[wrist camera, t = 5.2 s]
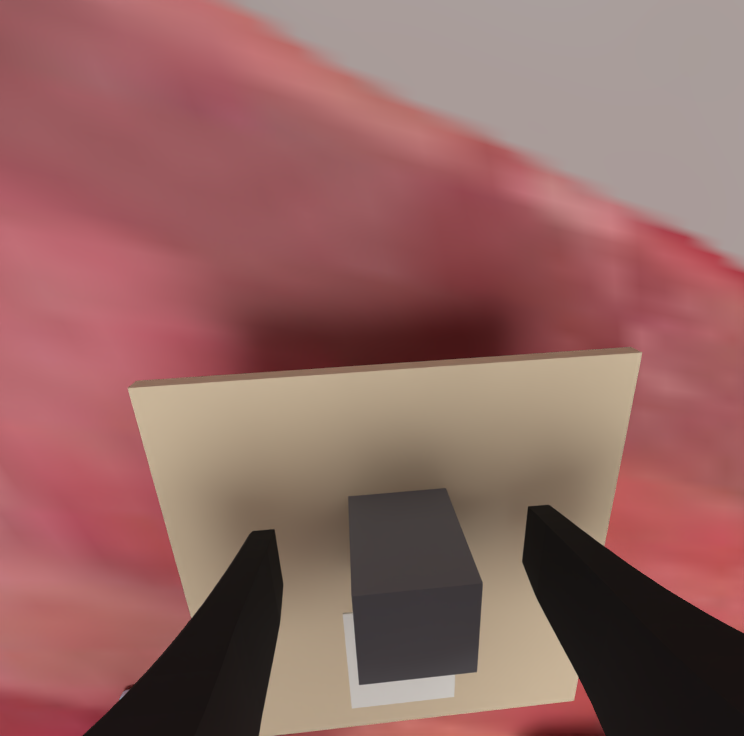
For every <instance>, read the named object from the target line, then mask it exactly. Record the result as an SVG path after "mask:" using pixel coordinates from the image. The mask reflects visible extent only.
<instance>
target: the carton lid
mask: <svg viewBox="0 0 744 736" xmlns="http://www.w3.org/2000/svg"><path fill="white" fill-rule="evenodd" d="M641 356H642V352H640V351H638V350H636V349H634V348H631V347H624V348H610V349H595V350H580V351H566V352H551V353H537V354H522V355H507V356H493V357H478V358H464V359H449V360H434V361H420V362H405V363H391V364H376V365H361V366H347V367H332V368H318V369H303V370H288V371H274V372H259V373H245V374H230V375H215V376H201V377H186V378H172V379H157V380H142V381H136V382H135V383H133V384H132V385H131V386H130V387H128V391H129V395H130V398H131V402H132V406H133V409H134V413H135V416H136V420H137V424H138V427H139V431H140V434H141V438H142V442H143V445H144V449H145V453H146V456H147V460H148V463H149V467H150V471H151V474H152V478H153V481H154V485H155V489H156V492H157V496H158V499H159V503H160V507H161V510H162V514H163V518H164V521H165V525H166V528H167V532H168V536H169V539H170V543H171V546H172V550H173V554H174V557H175V561H176V565H177V568H178V572H179V575H180V579H181V583H182V586H183V590H184V593H185V597H186V601H187V604H188V608H189V612H190V615H191V618H192V617H193V616H194V614H195V613H196V612H197V610H198V609H199V608H200V607H201V605H202V604H203V603H204V601H205V600H206V599H207V597H208V596H209V594H210V593H211V592H212V590H213V589H214V587H215V586H216V584H217V583H218V582H219V580H220V579H221V577H222V576H223V574H224V573H225V571H226V570H227V568H228V567H229V565H230V564H231V562H232V561H233V559H234V558H235V556H236V555H237V553H238V552H239V550H240V548H241V547H242V545H243V544H244V542H245V540H246V539H247V537H248V535H249V534H250V533H251V532H252V531H258V530H269V529H275V535H276V541H277V547H278V553H279V559H280V566H281V572H282V578H283V584H284V585H283V597H282V609H281V620H280V627H279V632H278V638H277V643H276V648H275V653H274V659H273V664H272V669H271V674H270V679H269V684H268V689H267V694H266V699H265V705H264V710H263V715H262V720H261V726H260V733H259V736H275V735H284V734H292V733H301V732H310V731H318V730H327V729H335V728H344V727H353V726H361V725H370V724H378V723H387V722H395V721H404V720H413V719H421V718H430V717H438V716H447V715H456V714H464V713H473V712H481V711H490V710H499V709H507V708H516V707H524V706H533V705H541V704H550V703H559V702H567V701H574V697H575V692H576V687H577V682H578V675H577V673H576V672H575V670H574V668H573V666H572V664H571V662H570V660H569V659H568V657H567V655H566V653H565V651H564V649H563V647H562V646H561V644H560V642H559V640H558V638H557V636H556V634H555V633H554V631H553V629H552V627H551V625H550V623H549V621H548V619H547V617H546V616H545V614H544V612H543V610H542V608H541V606H540V604H539V602H538V600H537V598H536V596H535V594H534V591H533V589H532V586H531V584H530V581H529V579H528V576H527V573H526V571H525V568H524V566H523V563H522V557H523V547H524V538H525V529H526V520H527V510H528V506H538V505H550V506H551V507H553V508H554V509H556V510H557V511H558V512H560V513H561V514H562V515H564V516H565V517H566V518H567V519H569V520H570V521H571V522H573V523H574V524H575V525H577V526H578V527H579V528H581V529H582V530H583V531H584V532H586V533H587V534H588V535H590V536H591V537H592V538H594V539H595V540H596V541H598V542H599V543H600V544H602V545H603V546H604V545H605V539H606V534H607V529H608V524H609V519H610V514H611V509H612V504H613V499H614V494H615V489H616V483H617V478H618V473H619V468H620V463H621V458H622V453H623V448H624V443H625V438H626V433H627V428H628V422H629V417H630V412H631V407H632V402H633V397H634V392H635V387H636V382H637V377H638V372H639V366H640V361H641Z"/></svg>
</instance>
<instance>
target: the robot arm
mask: <svg viewBox="0 0 744 736" xmlns="http://www.w3.org/2000/svg"><path fill="white" fill-rule="evenodd" d="M522 563H523V566H524V568H525V571H526V573H527V576H528V579H529V581H530V584H531V586H532V589H533V591H534V594H535V596H536V598H537V600H538V602H539V604H540V606H541V608H542V610H543V612H544V614H545V616H546V617H547V619H548V621H549V623H550V625H551V627H552V629H553V631H554V633H555V634H556V636H557V638H558V640H559V642H560V644H561V646H562V647H563V649H564V651H565V653H566V655H567V657H568V659H569V660H570V662H571V664H572V666H573V668H574V670H575V672H576V673H577V675H578V677H579V679H580V681H581V683H582V685H583V687H584V689H585V691H586V693H587V695H588V697H589V699H590V701H591V703H592V705H593V708H594V710H595V712H596V714H597V717H598V719H599V721H600V724H601V726H602V728H603V731H604V733H605V735H606V736H744V633H742V632H740V631H738V630H736V629H734V628H732V627H730V626H729V625H727V624H725V623H723V622H721V621H719V620H718V619H716V618H714V617H712V616H710V615H709V614H707V613H705V612H704V611H702V610H700V609H698V608H697V607H695V606H693V605H692V604H690V603H688V602H687V601H685V600H683V599H682V598H680V597H678V596H677V595H675V594H673V593H672V592H670V591H669V590H667V589H665V588H664V587H662V586H661V585H659V584H658V583H656V582H655V581H653V580H652V579H650V578H649V577H647V576H646V575H644V574H643V573H641V572H640V571H638V570H637V569H635V568H634V567H632V566H631V565H629V564H628V563H627V562H625V561H624V560H622V559H621V558H620V557H618V556H617V555H615V554H614V553H613V552H611V551H610V550H609V549H607V548H606V547H604V546H603V545H602V544H600V543H599V542H598V541H596V540H595V539H594V538H592V537H591V536H590V535H588V534H587V533H586V532H584V531H583V530H582V529H581V528H579V527H578V526H577V525H575V524H574V523H573V522H571V521H570V520H569V519H567V518H566V517H565V516H564V515H562V514H561V513H560V512H558V511H557V510H556V509H554V508H553V507H551V506H550V505H538V506H528V510H527V520H526V529H525V538H524V547H523V557H522ZM283 585H284V584H283V578H282V572H281V566H280V559H279V553H278V547H277V541H276V535H275V529H269V530H258V531H252V532H251V533H250V534H249V535H248V537H247V539H246V540H245V542H244V544H243V545H242V547H241V548H240V550H239V552H238V553H237V555H236V556H235V558H234V559H233V561H232V562H231V564H230V565H229V567H228V568H227V570H226V571H225V573H224V574H223V576H222V577H221V579H220V580H219V582H218V583H217V584H216V586H215V587H214V589H213V590H212V592H211V593H210V594H209V596H208V597H207V599H206V600H205V601H204V603H203V604H202V605H201V607H200V608H199V609H198V610H197V612H196V613H195V614H194V616H193V617H192V618H191V620H190V621H189V622H188V623H187V625H186V626H185V627H184V629H183V630H182V631H181V632H180V634H179V635H178V636H177V637H176V638H175V640H174V641H173V642H172V643H171V644H170V646H169V647H168V648H167V649H166V650H165V652H164V653H163V654H162V655H161V656H160V657H159V658H158V659H157V661H156V662H155V663H154V664H153V665H152V666H151V667H150V669H149V670H148V671H147V672H146V673H145V674H144V675H143V676H142V677H141V678H140V679H139V680H138V681H137V682H136V683H135V684H134V686H133V687H132V688H131V689H129V690H125V691H124V692H123V693H122V694H121V697H120V699H119V701H118V702H117V703H116V704H115V705H114V706H113V707H112V708H111V709H110V710H109V711H108V712H107V713H106V714H105V715H104V716H103V717H102V718H101V719H100V720H99V721H98V722H97V723H96V724H95V725H94V726H92V727H91V728H90V729H89V730H88V731H87V732H86V733H85V734H84V735H83V736H259V733H260V726H261V720H262V715H263V710H264V705H265V699H266V694H267V689H268V684H269V679H270V674H271V669H272V664H273V659H274V653H275V648H276V643H277V638H278V632H279V627H280V620H281V609H282V597H283Z"/></svg>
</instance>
